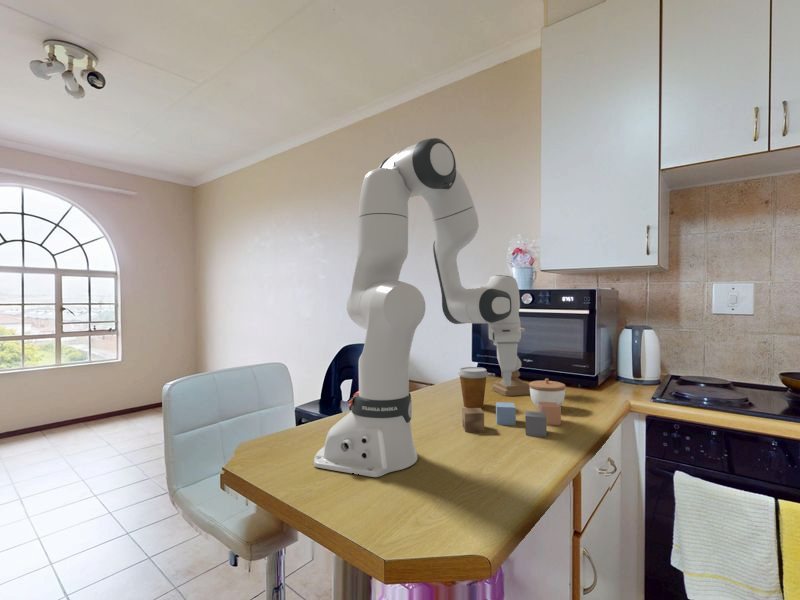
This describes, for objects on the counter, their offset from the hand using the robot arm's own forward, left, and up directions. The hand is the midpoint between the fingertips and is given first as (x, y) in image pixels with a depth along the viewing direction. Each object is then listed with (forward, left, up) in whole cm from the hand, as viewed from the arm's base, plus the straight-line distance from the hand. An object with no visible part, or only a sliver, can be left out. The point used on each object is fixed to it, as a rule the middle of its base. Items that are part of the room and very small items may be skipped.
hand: (506, 381), depth 110 cm
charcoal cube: (+7, -8, -12) cm, 16 cm away
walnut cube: (-9, -7, -12) cm, 17 cm away
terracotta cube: (+12, +2, -12) cm, 16 cm away
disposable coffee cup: (-9, +16, -12) cm, 22 cm away
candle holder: (+5, +37, -12) cm, 39 cm away
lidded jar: (+14, +16, -12) cm, 24 cm away
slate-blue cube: (0, 0, -12) cm, 12 cm away
